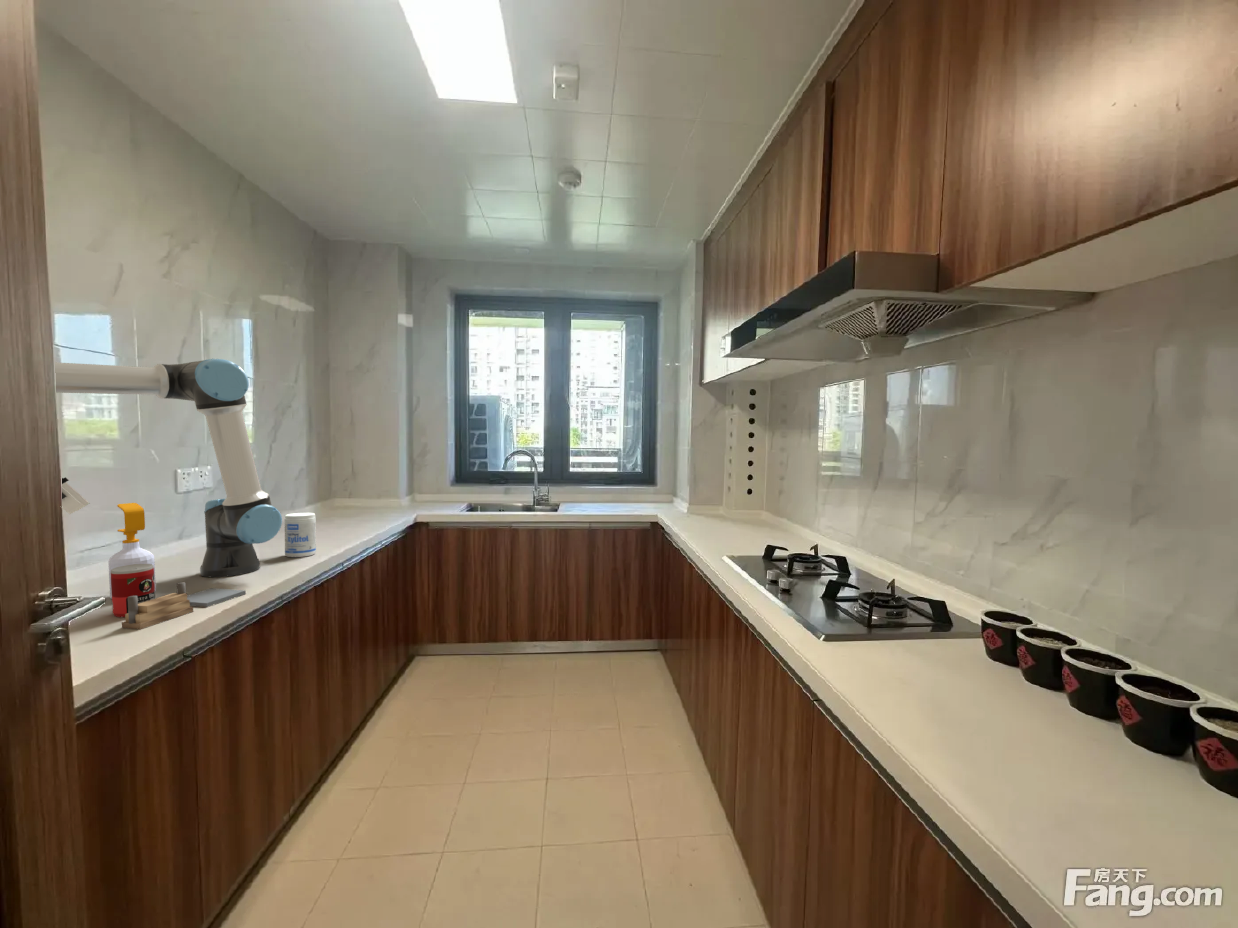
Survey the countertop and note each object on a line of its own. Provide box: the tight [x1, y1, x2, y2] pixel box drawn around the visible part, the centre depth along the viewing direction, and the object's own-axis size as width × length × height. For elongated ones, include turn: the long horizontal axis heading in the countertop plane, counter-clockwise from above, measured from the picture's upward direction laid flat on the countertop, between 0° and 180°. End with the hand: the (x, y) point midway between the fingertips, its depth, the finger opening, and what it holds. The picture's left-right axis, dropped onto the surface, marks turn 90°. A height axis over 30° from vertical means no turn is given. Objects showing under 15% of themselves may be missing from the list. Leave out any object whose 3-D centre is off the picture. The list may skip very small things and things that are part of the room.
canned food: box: [111, 564, 156, 618], centre depth 128 cm, size 8×8×11 cm
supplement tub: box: [284, 512, 317, 558], centre depth 189 cm, size 10×10×15 cm
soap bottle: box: [107, 502, 157, 600], centre depth 141 cm, size 9×9×25 cm
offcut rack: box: [121, 581, 194, 630], centre depth 123 cm, size 12×5×7 cm, turn 169°
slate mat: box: [187, 587, 247, 608], centre depth 138 cm, size 11×11×1 cm
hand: (80, 508), depth 121 cm, fingers open, 13 cm apart
